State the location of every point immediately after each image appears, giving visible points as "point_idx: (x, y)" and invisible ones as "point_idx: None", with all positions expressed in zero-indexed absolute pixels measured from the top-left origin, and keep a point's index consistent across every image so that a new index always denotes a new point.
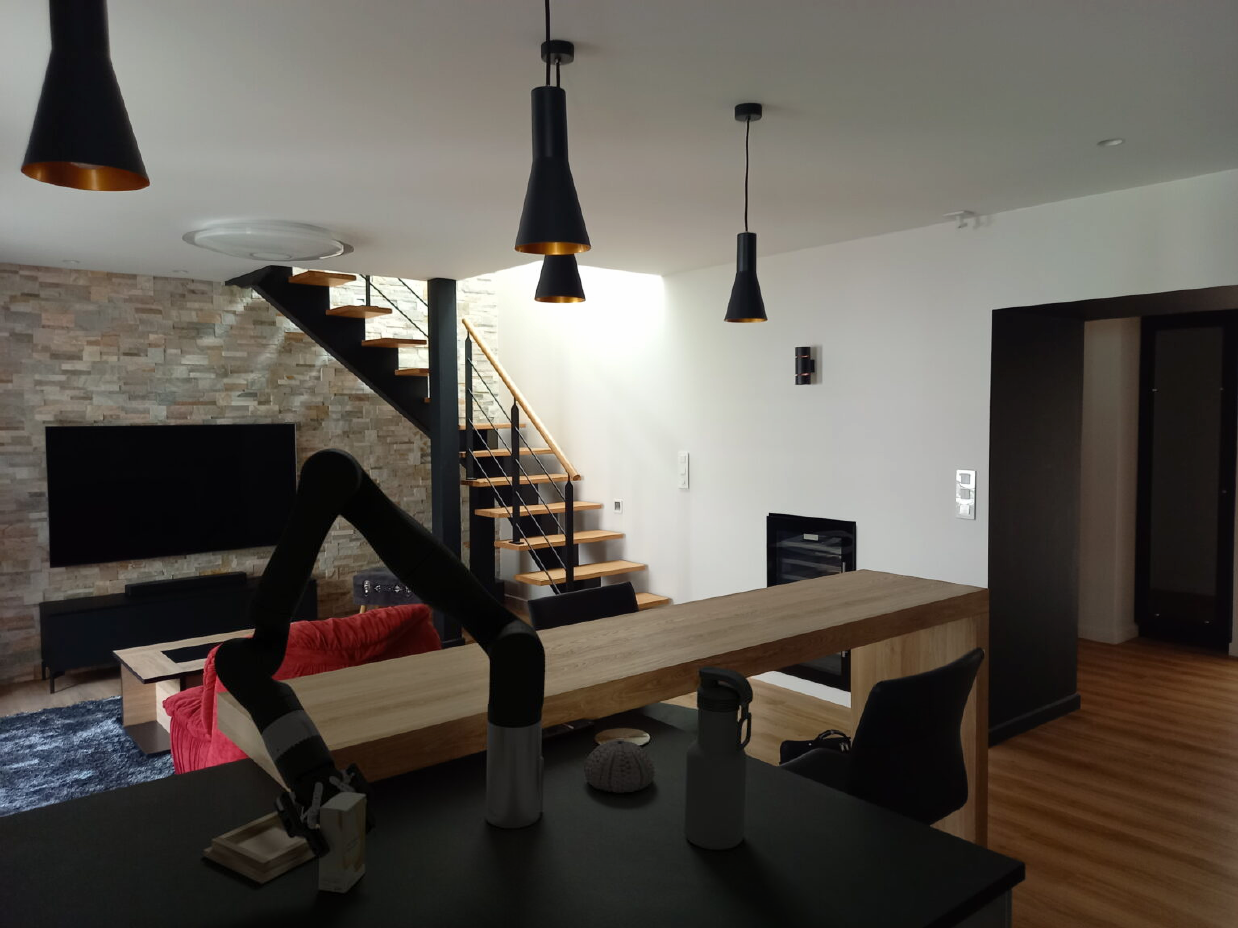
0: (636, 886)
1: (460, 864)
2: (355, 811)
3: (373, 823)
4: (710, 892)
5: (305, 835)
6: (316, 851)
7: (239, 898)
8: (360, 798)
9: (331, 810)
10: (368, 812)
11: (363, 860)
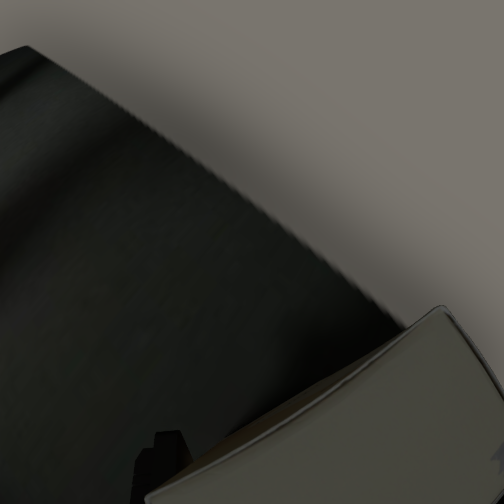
0: (27, 111)
1: (50, 290)
2: (317, 392)
3: (161, 439)
4: (23, 86)
5: None
6: None
7: None
8: (228, 468)
9: (498, 392)
10: (150, 488)
11: (227, 437)
